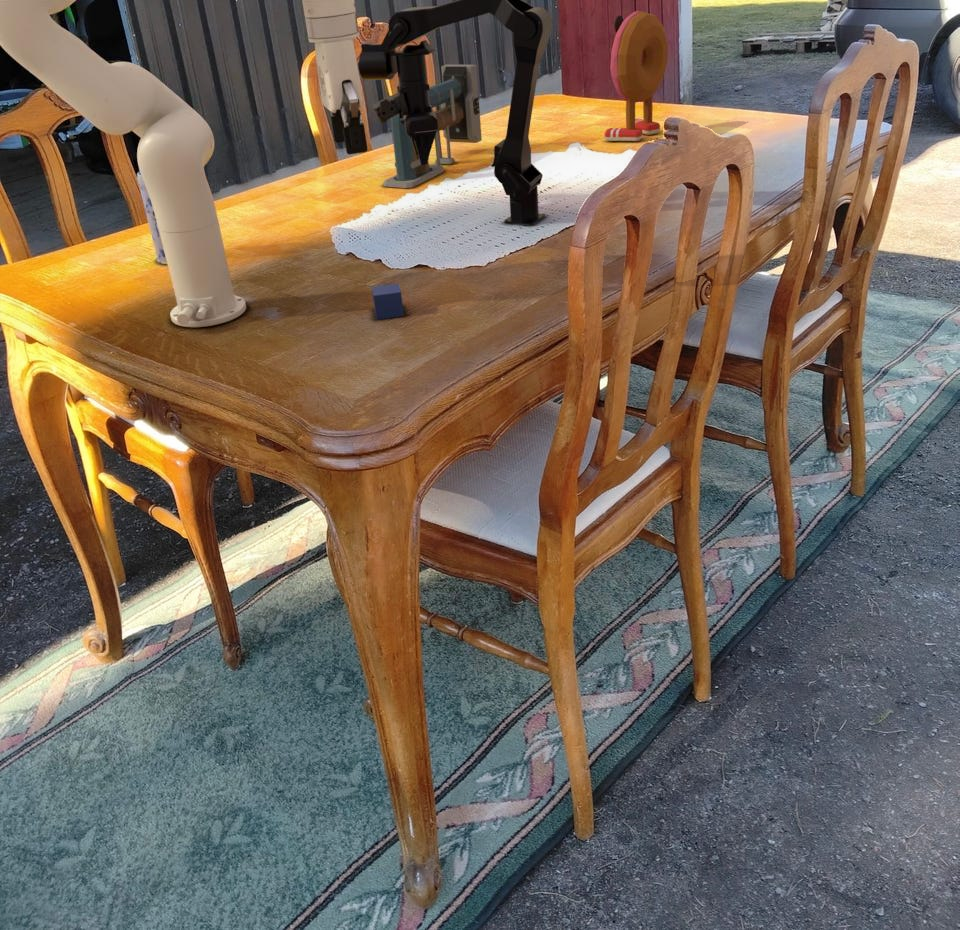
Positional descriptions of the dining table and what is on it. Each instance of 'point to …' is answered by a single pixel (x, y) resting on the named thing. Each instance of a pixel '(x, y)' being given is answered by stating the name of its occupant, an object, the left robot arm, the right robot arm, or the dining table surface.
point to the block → (387, 301)
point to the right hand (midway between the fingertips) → (421, 159)
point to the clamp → (440, 125)
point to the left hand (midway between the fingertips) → (350, 146)
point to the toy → (637, 71)
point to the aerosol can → (152, 221)
